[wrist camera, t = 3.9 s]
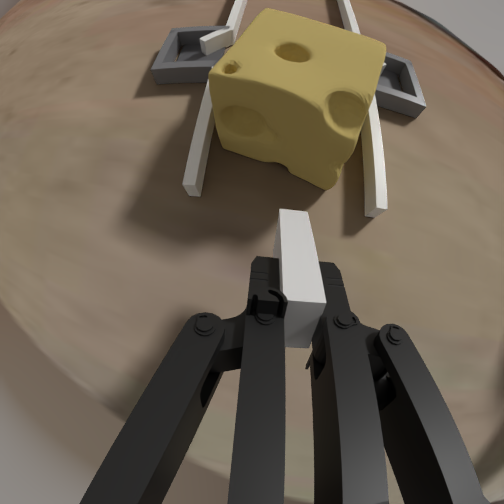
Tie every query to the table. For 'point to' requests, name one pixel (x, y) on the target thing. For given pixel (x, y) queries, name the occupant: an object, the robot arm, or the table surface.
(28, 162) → the table surface
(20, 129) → the table surface
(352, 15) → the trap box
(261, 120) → the cheese
